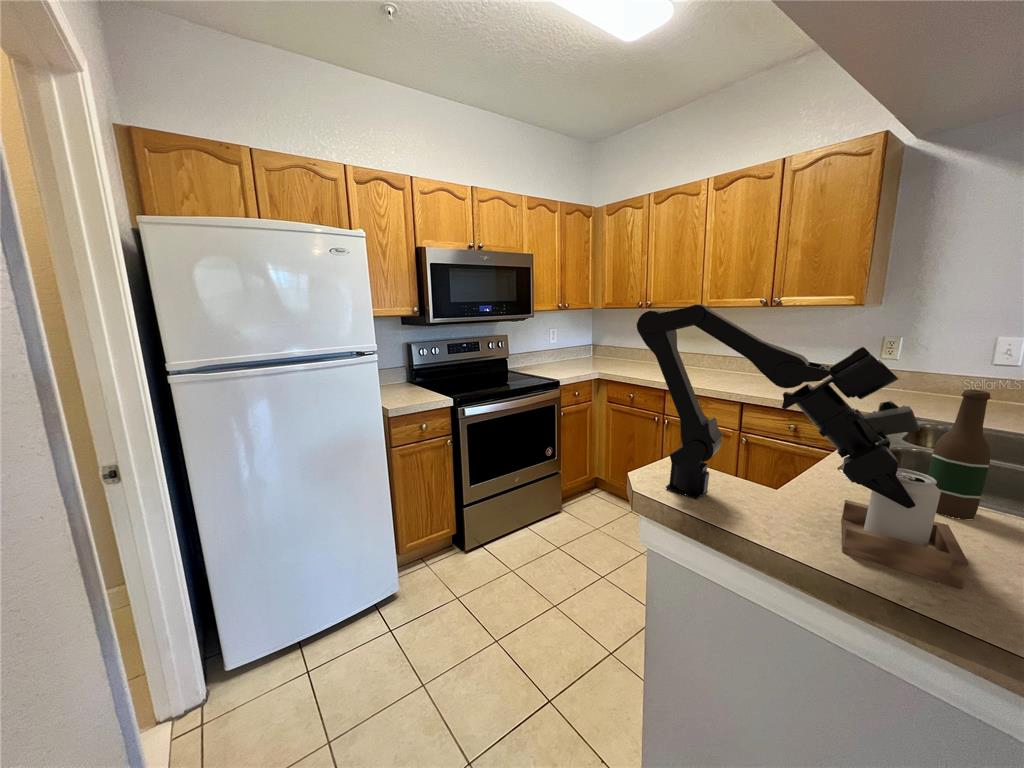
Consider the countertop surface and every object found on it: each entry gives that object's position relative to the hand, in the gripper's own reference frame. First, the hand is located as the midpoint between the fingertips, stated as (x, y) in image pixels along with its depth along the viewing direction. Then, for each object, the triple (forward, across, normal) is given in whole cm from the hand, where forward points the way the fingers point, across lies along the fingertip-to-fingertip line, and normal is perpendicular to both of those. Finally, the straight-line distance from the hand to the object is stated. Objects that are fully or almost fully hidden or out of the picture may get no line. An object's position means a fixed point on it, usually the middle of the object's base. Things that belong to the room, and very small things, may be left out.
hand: (907, 496), depth 62 cm
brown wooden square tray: (+6, 0, +7) cm, 9 cm away
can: (+6, 0, +6) cm, 9 cm away
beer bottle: (+14, +25, 0) cm, 29 cm away
